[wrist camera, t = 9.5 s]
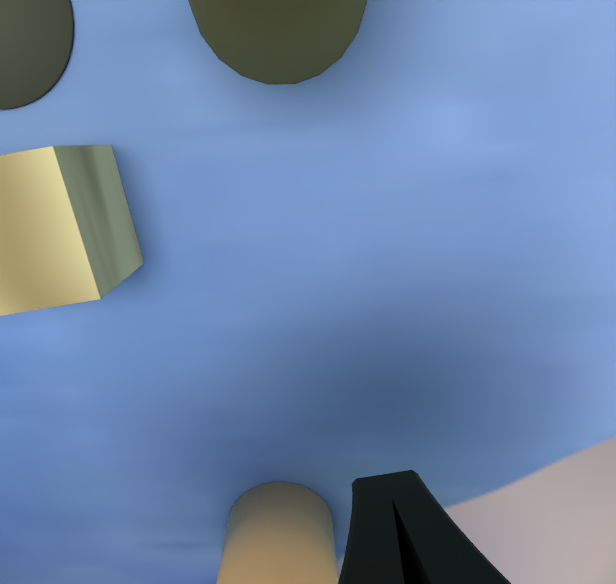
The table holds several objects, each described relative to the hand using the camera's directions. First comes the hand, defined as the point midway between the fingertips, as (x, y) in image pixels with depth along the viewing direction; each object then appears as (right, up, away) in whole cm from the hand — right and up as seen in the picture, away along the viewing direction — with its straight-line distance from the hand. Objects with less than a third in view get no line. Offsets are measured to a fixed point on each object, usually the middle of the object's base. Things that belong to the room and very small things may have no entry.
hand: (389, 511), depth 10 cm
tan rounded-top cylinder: (-3, -6, +12) cm, 14 cm away
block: (-11, +8, +8) cm, 15 cm away
